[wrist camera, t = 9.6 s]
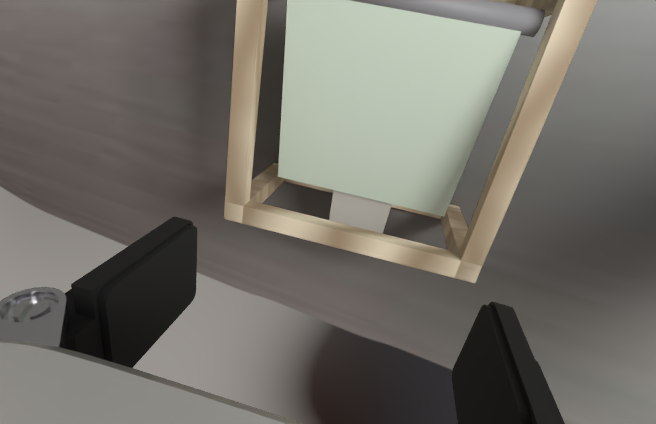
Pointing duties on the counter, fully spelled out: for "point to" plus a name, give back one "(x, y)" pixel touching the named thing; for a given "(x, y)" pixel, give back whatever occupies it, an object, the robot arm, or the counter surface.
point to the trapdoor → (392, 92)
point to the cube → (359, 211)
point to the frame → (462, 243)
